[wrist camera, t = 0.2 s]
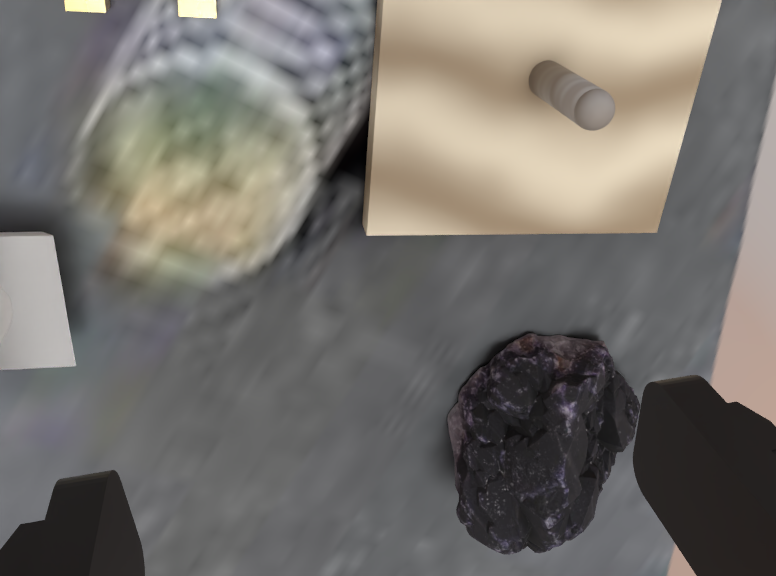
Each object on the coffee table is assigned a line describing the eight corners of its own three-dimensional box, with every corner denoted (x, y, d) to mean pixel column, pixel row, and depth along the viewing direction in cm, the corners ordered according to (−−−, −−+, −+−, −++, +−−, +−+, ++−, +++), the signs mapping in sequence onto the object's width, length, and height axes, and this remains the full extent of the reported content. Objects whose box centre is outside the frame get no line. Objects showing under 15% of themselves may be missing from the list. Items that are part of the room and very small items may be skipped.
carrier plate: (386, -134, 32) (429, -136, 25) (730, -101, 35) (850, -95, 28) (362, 223, 40) (390, 295, 33) (643, 222, 43) (720, 286, 37)
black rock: (629, 303, 47) (706, 387, 38) (624, 468, 53) (689, 573, 44) (427, 334, 47) (456, 427, 38) (444, 497, 53) (473, 611, 44)
